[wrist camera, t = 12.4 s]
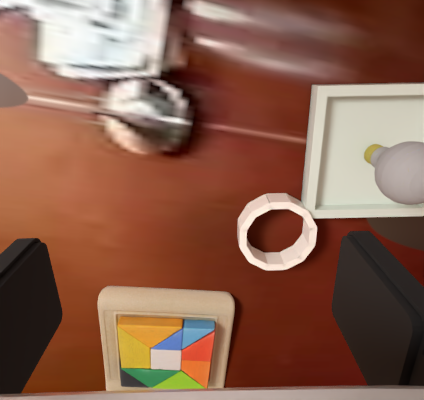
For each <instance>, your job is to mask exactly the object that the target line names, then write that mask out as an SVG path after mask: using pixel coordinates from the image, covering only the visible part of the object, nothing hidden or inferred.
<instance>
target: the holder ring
mask: <svg viewBox="0 0 424 400" xmlns="http://www.w3.org/2000/svg"><path fill="white" fill-rule="evenodd" d="M271 209H290V210H291V211H293V212H295V213H297V214H299V215H301V216H302V217H303V219H304V221H303V231H302V234H301V236H300V237H299V238H298V240H297V241H296V243H295V244H294V245H293V246H291V247H289V248H287V249H285V250H283V251H281V252H269V253H264V252H262V251H260V250H258V249H256V248H254V247H252V246H251V245H250V243H249V242H248V240H247V230H248V228H249V227H250V225H251V224H252V222H253V221H254V219H255V218H256V217H258V216H260V215H261V214H263V213H265V212H267V211H269V210H271ZM316 235H317V226H316V224H315V222H314V220H313V219H312V217H311V215H310V213H309V211H308V210H307V209H306V208H305V207H304V205H303V204H302V202H301V201H299V200H297V199H296V198H294V197H292V196H290V195H288V194H285V193H273V194H264V195H262V196H260V197H259V198H257V199H255V200H253V201H251V202H249V203H248V204H247V205H246V207H245V209H244V210H243V212H242V213H241V215H240V216H239V218H238V230H237V236H238V242H239V247H240V249H241V251H242V252H243V254H244V255H245V257H246V258H247V260H248V261H249V263H252V264H254V265H256V266H258V267H260V268H262V269H264V270H285V269H288V268H290V267H293V266H295V265H297V264H299V263H301V262H303V261H304V260H305V259H306V257H307V256H308V255H309V253H310V252H311V251H312V249H313V248H314V247H315V244H316Z"/></svg>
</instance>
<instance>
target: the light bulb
mask: <svg viewBox="0 0 424 400" xmlns="http://www.w3.org/2000/svg"><path fill="white" fill-rule="evenodd" d="M364 159H365V161H366V162H367V163H370V164H371V165H372V166H373V167H375V182H376V184H377V186H378V188H379V190H380V191H381V192H382V194H383V195H385V196H386V197H387V198H389V199H390V200H392V201H394V202H396V203H400V204H406V205H414V204H421V203H424V143H423V142H415V141H408V142H402V143H399V144H396V145H394V146H392V147H390V148H388V147H383V146H381V145H379V144H373V145H370V146H369V147H368V148H367V149H366V150H365V152H364Z"/></svg>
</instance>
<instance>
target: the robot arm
mask: <svg viewBox="0 0 424 400" xmlns="http://www.w3.org/2000/svg"><path fill="white" fill-rule="evenodd" d="M332 312H333V316H334V318H335V320H336V322H337V324H338V326H339V328H340V330H341V332H342V334H343V336H344V338H345V340H346V342H347V344H348V346H349V348H350V350H351V352H352V354H353V356H354V358H355V360H356V362H357V364H358V366H359V368H360V370H361V372H362V374H363V376H364V378H365V380H366V382H367V384H368V386H304V387H250V388H206V389H164V390H126V391H91V392H58V393H26V394H21V392H22V390H23V388H24V387H25V385H26V383H27V381H28V380H29V378H30V376H31V374H32V372H33V371H34V369H35V367H36V365H37V364H38V362H39V360H40V358H41V356H42V355H43V353H44V351H45V349H46V348H47V346H48V344H49V342H50V340H51V339H52V337H53V335H54V333H55V332H56V330H57V328H58V326H59V324H60V322H61V320H62V308H61V303H60V299H59V295H58V291H57V287H56V283H55V278H54V274H53V270H52V266H51V262H50V257H49V253H48V249H47V246H46V244H45V243H41V241H40V240H39V239H38V238H26V239H17V240H15V241H14V242H13V243H12V244H11V245H10V246H9V247H8V248H7V249H6V250H5V251H4V252H2V253H1V254H0V400H424V287H423V286H422V285H421V284H420V283H419V282H418V281H417V280H416V279H415V278H414V277H413V276H412V275H411V274H410V273H409V272H408V271H407V269H406V268H405V267H404V266H403V265H402V264H401V263H400V262H399V261H398V260H397V259H396V258H395V257H394V256H393V255H392V254H391V253H390V252H389V251H388V250H387V249H386V248H385V247H384V246H383V245H382V244H381V242H380V241H379V240H378V239H377V238H376V237H375V236H374V235H373V234H372V233H371V232H369V231H350V232H349V233H348V235H347V236H343V238H342V241H341V247H340V254H339V260H338V267H337V274H336V280H335V287H334V294H333V300H332Z"/></svg>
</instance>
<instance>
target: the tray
mask: <svg viewBox="0 0 424 400" xmlns="http://www.w3.org/2000/svg"><path fill="white" fill-rule="evenodd" d="M408 141H415V142H423V143H424V82H421V83H368V84H316V85H312V90H311V100H310V111H309V122H308V133H307V143H306V154H305V165H304V176H303V186H302V197H301V202H302V204H303V205H304V207H305V208H306V209H307V210H308V211H309V213H310V215H311V217H312V219H313V218H359V217H406V216H424V203H421V204H414V205H406V204H400V203H396V202H394V201H392V200H390V199H389V198H387V197H386V196H385V195H383V194H382V192H381V191H380V190H379V188H378V186H377V184H376V182H375V167H373V166H372V165H371V164H370V163H367V162H366V161H365V159H364V152H365V150H366V149H367V148H368V147H369V146H370V145H373V144H379V145H381V146H383V147H388V148H390V147H392V146H394V145H396V144H399V143H402V142H408Z"/></svg>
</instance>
